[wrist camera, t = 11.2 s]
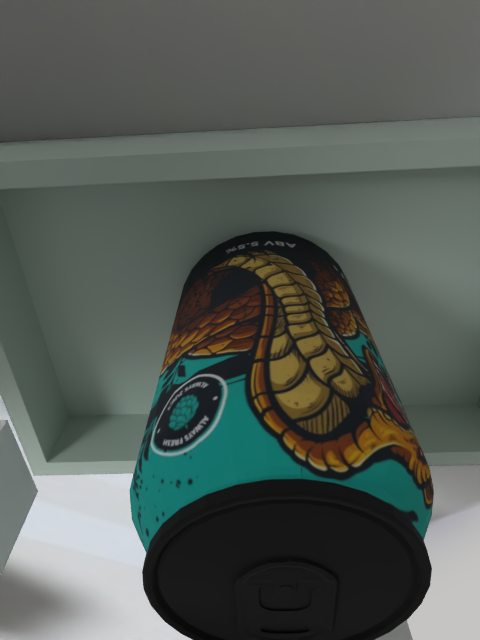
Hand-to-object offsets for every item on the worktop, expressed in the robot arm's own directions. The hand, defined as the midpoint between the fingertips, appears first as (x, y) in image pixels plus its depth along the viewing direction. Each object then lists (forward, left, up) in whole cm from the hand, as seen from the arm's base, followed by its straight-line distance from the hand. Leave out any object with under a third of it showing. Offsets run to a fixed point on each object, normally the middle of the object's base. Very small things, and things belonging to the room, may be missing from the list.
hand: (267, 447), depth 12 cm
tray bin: (0, 0, -9) cm, 9 cm away
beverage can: (0, 0, -9) cm, 9 cm away
